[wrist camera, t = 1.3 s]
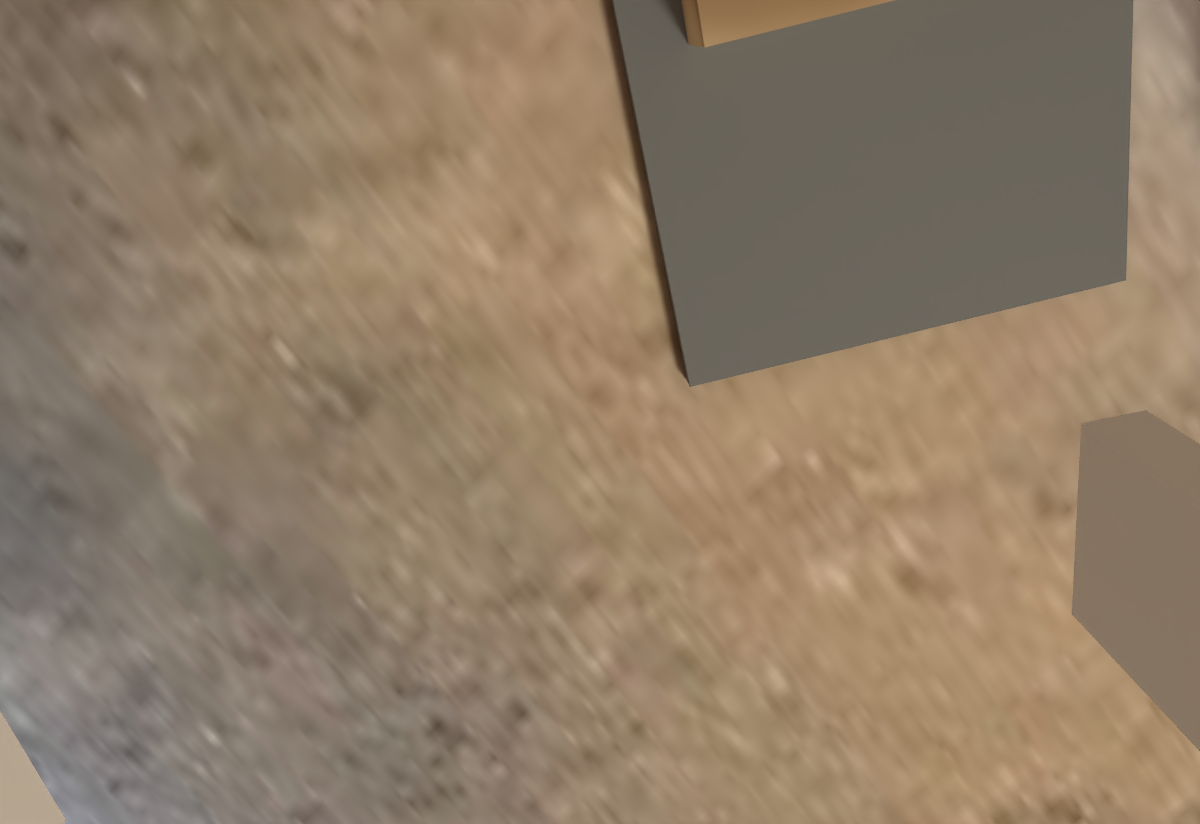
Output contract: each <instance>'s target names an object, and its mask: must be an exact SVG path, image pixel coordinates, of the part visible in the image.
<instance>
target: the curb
mask: <svg viewBox="0 0 1200 824" xmlns="http://www.w3.org/2000/svg"><path fill="white" fill-rule="evenodd" d="M890 1H894V0H681V3H682V9H683V15H684V21H685V26H686V32H687V38H688V44H689V45H694V46H699V47H709V46H713V45H717V44H721V43H725V42H729V41H733V40H737V39H741V38H745V37H749V36H753V35H757V34H761V33H765V32H769V31H773V30H777V29H781V28H785V27H789V26H793V25H797V24H801V23H805V22H809V21H813V20H817V19H821V18H826V17H830V16H834V15H838V14H842V13H846V12H850V11H854V10H858V9H862V8H866V7H870V6H874V5H878V4H882V3H886V2H890Z"/></svg>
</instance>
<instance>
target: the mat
mask: <svg viewBox="0 0 1200 824" xmlns="http://www.w3.org/2000/svg"><path fill="white" fill-rule="evenodd" d="M611 2H612V7H613V12H614V17H615V22H616V27H617V32H618V37H619V42H620V47H621V52H622V57H623V62H624V67H625V72H626V77H627V82H628V87H629V92H630V97H631V102H632V107H633V112H634V117H635V122H636V127H637V132H638V137H639V142H640V147H641V152H642V157H643V162H644V167H645V172H646V177H647V182H648V187H649V192H650V197H651V202H652V207H653V212H654V217H655V222H656V227H657V232H658V237H659V242H660V247H661V252H662V257H663V262H664V267H665V272H666V277H667V282H668V287H669V292H670V297H671V302H672V307H673V312H674V317H675V322H676V327H677V332H678V337H679V342H680V347H681V352H682V357H683V362H684V367H685V372H686V378H687V381H688V383H689V386H690V387H691V386H696V385H700V384H704V383H708V382H712V381H716V380H720V379H724V378H728V377H732V376H736V375H740V374H745V373H749V372H753V371H757V370H761V369H765V368H769V367H773V366H777V365H781V364H785V363H789V362H794V361H798V360H802V359H806V358H810V357H814V356H818V355H822V354H826V353H830V352H834V351H838V350H843V349H847V348H851V347H855V346H859V345H863V344H867V343H871V342H875V341H879V340H883V339H887V338H892V337H896V336H900V335H904V334H908V333H912V332H916V331H920V330H924V329H928V328H932V327H936V326H941V325H945V324H949V323H953V322H957V321H961V320H965V319H969V318H973V317H977V316H981V315H985V314H990V313H994V312H998V311H1002V310H1006V309H1010V308H1014V307H1018V306H1022V305H1026V304H1030V303H1034V302H1039V301H1043V300H1047V299H1051V298H1055V297H1059V296H1063V295H1067V294H1071V293H1075V292H1079V291H1083V290H1088V289H1092V288H1096V287H1100V286H1104V285H1108V284H1112V283H1116V282H1120V281H1124V280H1126V257H1127V218H1128V180H1129V141H1130V102H1131V64H1132V25H1133V0H894V1H890V2H886V3H882V4H878V5H874V6H870V7H866V8H862V9H858V10H854V11H850V12H846V13H842V14H838V15H834V16H830V17H826V18H821V19H817V20H813V21H809V22H805V23H801V24H797V25H793V26H789V27H785V28H781V29H777V30H773V31H769V32H765V33H761V34H757V35H753V36H749V37H745V38H741V39H737V40H733V41H729V42H725V43H721V44H717V45H713V46H709V47H699V46H694V45H689V44H688V38H687V32H686V26H685V21H684V15H683V9H682V3H681V0H611Z"/></svg>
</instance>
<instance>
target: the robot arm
mask: <svg viewBox="0 0 1200 824" xmlns="http://www.w3.org/2000/svg"><path fill="white" fill-rule="evenodd" d="M1072 615H1073V616H1074V617H1075V618H1076V619H1077V620H1078V621H1079V622H1080V623H1081V624H1082V625H1083V626H1084V628H1085V629H1086V630H1087V631H1088V632H1089V633H1090V634H1091V635H1092V636H1093V637H1094V638H1095V639H1096V640H1097V642H1098V643H1099V644H1100V645H1101V646H1102V647H1103V648H1104V649H1105V650H1106V651H1107V652H1108V653H1109V654H1110V655H1111V657H1112V658H1113V659H1114V660H1115V661H1116V662H1117V663H1118V664H1119V665H1120V666H1121V667H1122V668H1123V669H1124V670H1125V672H1126V673H1127V674H1128V675H1129V676H1130V677H1131V678H1132V679H1133V680H1134V681H1135V682H1136V683H1137V684H1138V685H1139V687H1140V688H1141V689H1142V690H1143V691H1144V692H1145V693H1146V694H1147V695H1148V696H1149V697H1150V698H1151V699H1152V700H1153V702H1154V703H1155V704H1156V705H1157V706H1158V707H1159V708H1160V709H1161V710H1162V711H1163V712H1164V713H1165V714H1166V716H1167V717H1168V718H1169V719H1170V720H1171V721H1172V722H1173V723H1174V724H1175V725H1176V726H1177V727H1178V728H1179V729H1180V731H1181V732H1182V733H1183V734H1184V735H1185V736H1186V737H1187V738H1188V739H1189V740H1190V741H1191V742H1192V743H1193V744H1194V746H1195V747H1196V748H1197V749H1198V750H1199V751H1200V444H1199V443H1197V442H1196V441H1194V440H1192V439H1191V438H1189V437H1188V436H1186V435H1184V434H1183V433H1181V432H1180V431H1178V430H1176V429H1175V428H1173V427H1172V426H1170V425H1169V424H1167V423H1165V422H1164V421H1162V420H1161V419H1159V418H1157V417H1156V416H1154V415H1153V414H1151V413H1149V412H1148V411H1146V410H1145V411H1140V412H1135V413H1130V414H1125V415H1120V416H1115V417H1111V418H1106V419H1101V420H1096V421H1091V422H1086V423H1081V439H1080V460H1079V480H1078V500H1077V520H1076V541H1075V561H1074V581H1073V601H1072ZM65 821H66V820H65V818H64V817H63V815H62V813H61V812H60V810H59V808H58V807H57V805H56V803H55V802H54V800H53V798H52V797H51V795H50V793H49V792H48V790H47V788H46V787H45V785H44V783H43V782H42V780H41V778H40V777H39V775H38V773H37V772H36V770H35V768H34V767H33V765H32V763H31V762H30V760H29V758H28V757H27V755H26V753H25V752H24V750H23V748H22V747H21V745H20V743H19V742H18V740H17V738H16V737H15V735H14V733H13V732H12V730H11V728H10V727H9V725H8V723H7V722H6V720H5V718H4V717H3V715H2V713H1V712H0V824H64V823H65Z"/></svg>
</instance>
